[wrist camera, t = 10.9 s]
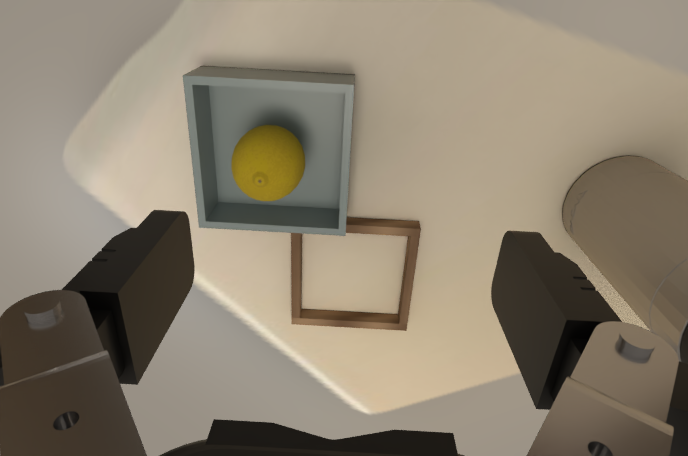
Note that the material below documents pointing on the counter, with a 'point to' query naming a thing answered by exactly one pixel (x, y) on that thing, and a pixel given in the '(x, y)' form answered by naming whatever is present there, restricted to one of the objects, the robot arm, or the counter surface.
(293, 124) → the bin
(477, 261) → the counter surface
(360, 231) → the tray
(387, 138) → the counter surface
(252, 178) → the lemon
